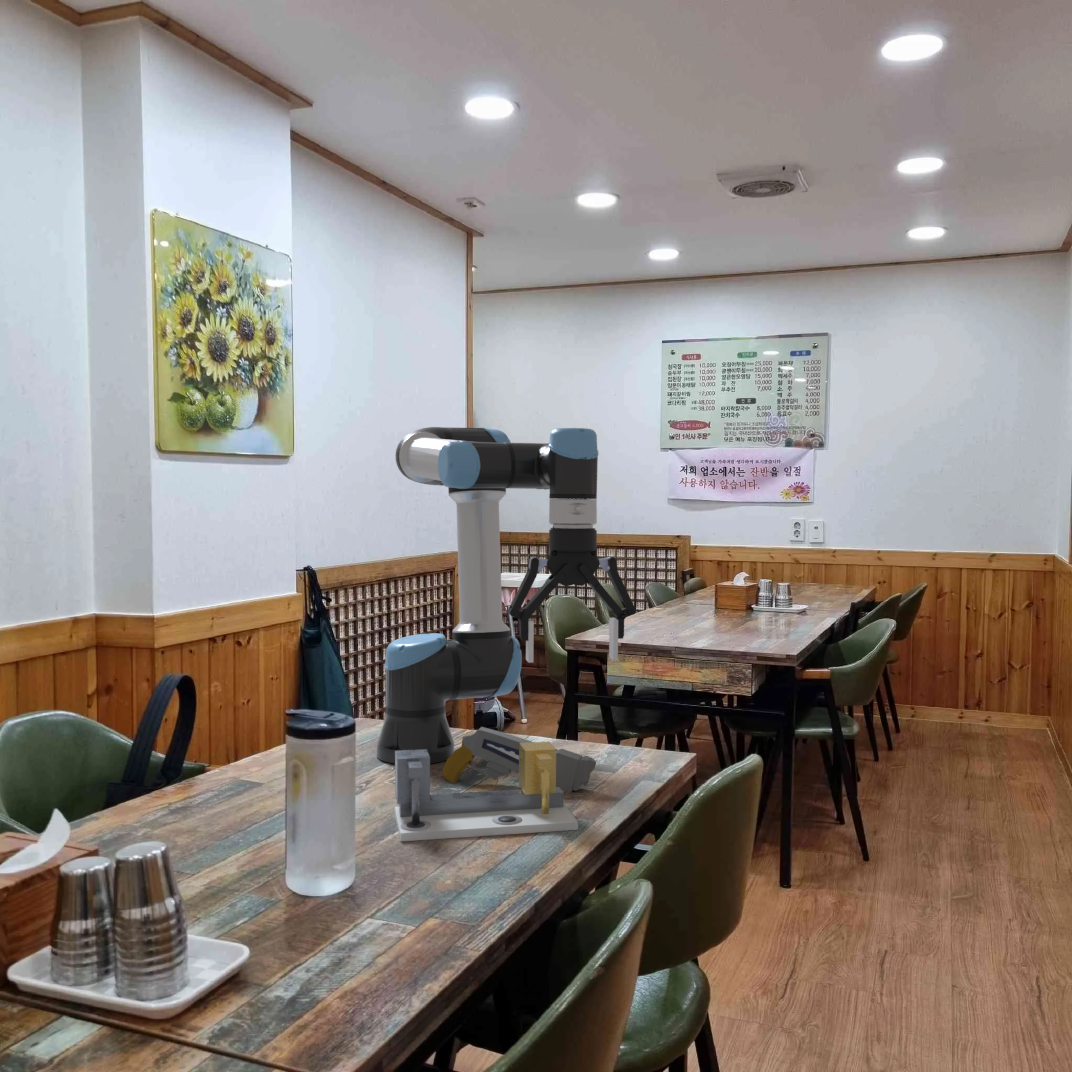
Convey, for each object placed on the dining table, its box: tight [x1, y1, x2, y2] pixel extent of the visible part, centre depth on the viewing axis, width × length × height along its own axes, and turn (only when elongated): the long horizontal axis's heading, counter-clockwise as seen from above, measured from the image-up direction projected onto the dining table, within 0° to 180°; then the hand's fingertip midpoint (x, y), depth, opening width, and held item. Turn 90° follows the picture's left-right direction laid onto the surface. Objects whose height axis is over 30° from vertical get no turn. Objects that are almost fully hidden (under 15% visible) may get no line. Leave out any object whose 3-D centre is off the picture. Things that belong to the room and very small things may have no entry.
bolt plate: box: [394, 803, 579, 842], centre depth 157 cm, size 13×27×1 cm, turn 102°
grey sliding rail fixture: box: [394, 749, 565, 824], centre depth 158 cm, size 9×26×9 cm, turn 102°
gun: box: [441, 726, 597, 793], centre depth 177 cm, size 3×25×15 cm, turn 76°
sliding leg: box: [518, 741, 557, 814], centre depth 160 cm, size 9×5×9 cm, turn 12°
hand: (571, 660), depth 160 cm, fingers open, 13 cm apart
